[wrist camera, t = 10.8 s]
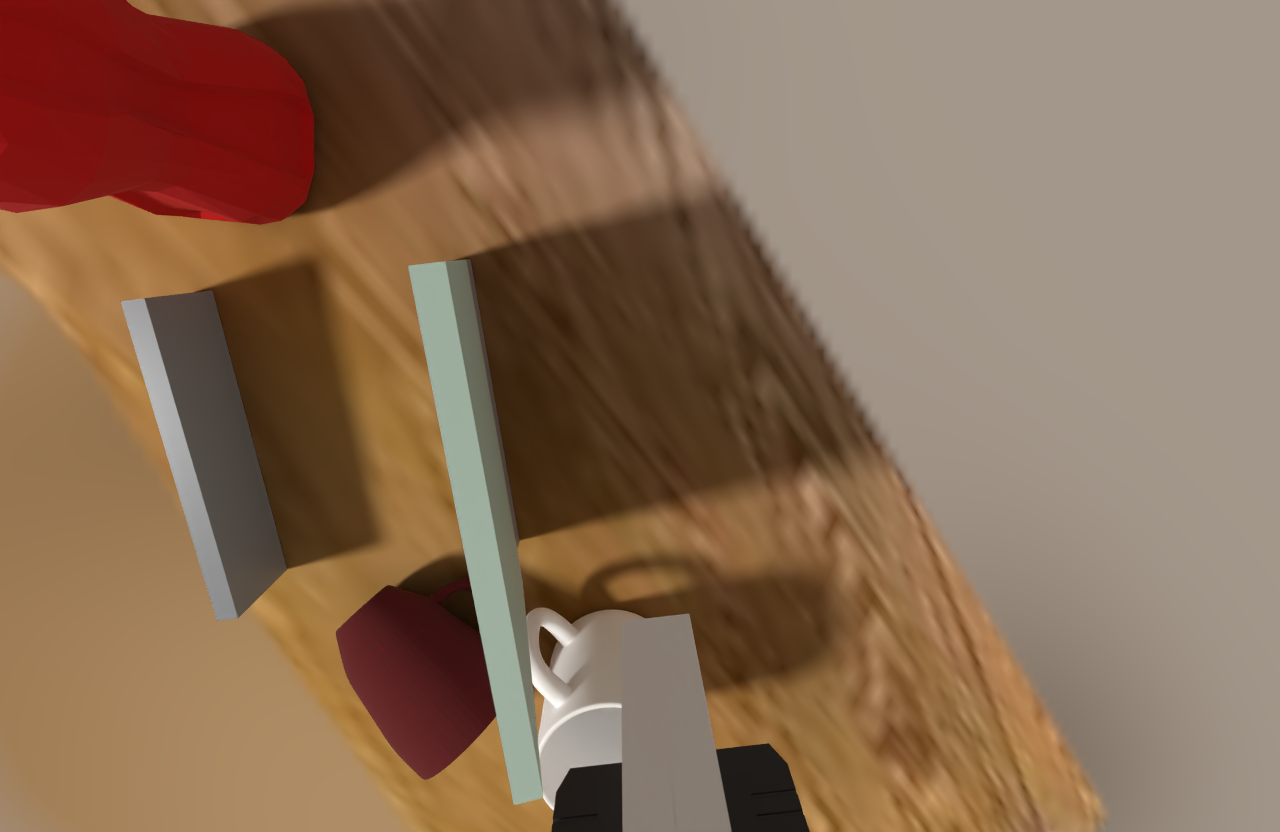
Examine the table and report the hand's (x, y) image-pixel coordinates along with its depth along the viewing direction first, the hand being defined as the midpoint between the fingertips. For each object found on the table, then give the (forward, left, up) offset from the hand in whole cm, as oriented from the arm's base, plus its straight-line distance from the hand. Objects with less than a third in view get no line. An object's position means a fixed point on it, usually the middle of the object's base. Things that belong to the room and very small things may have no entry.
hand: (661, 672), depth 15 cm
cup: (+17, -5, -29) cm, 34 cm away
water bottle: (-18, -21, -29) cm, 40 cm away
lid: (0, -7, -14) cm, 16 cm away
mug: (+10, -17, -26) cm, 33 cm away
